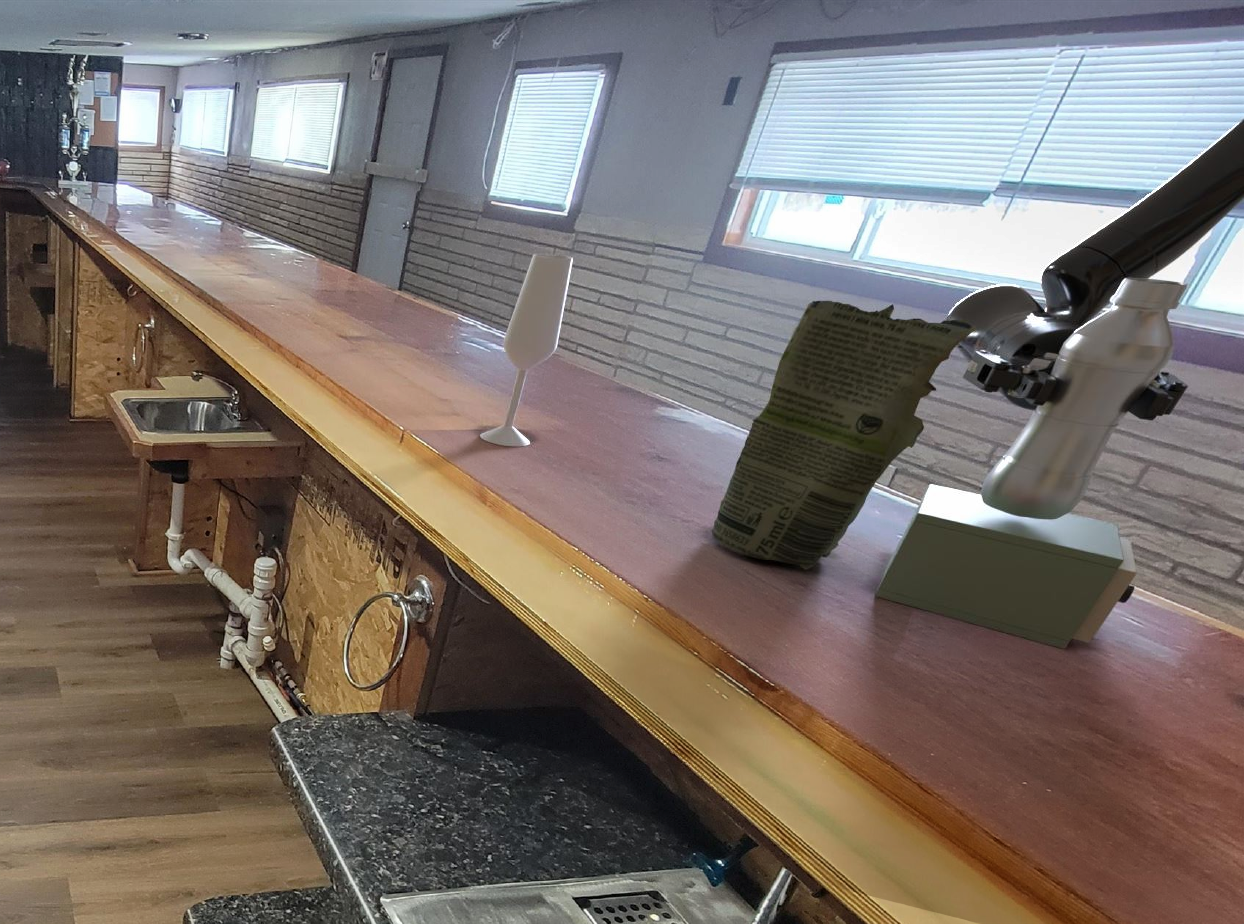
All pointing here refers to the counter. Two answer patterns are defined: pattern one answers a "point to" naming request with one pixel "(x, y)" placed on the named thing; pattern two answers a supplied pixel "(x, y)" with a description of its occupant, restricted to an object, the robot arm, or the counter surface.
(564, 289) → the champagne flute
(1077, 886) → the counter surface
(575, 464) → the counter surface
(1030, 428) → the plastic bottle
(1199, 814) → the counter surface
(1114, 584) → the drawer
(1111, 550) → the cabinet
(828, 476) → the pouch
